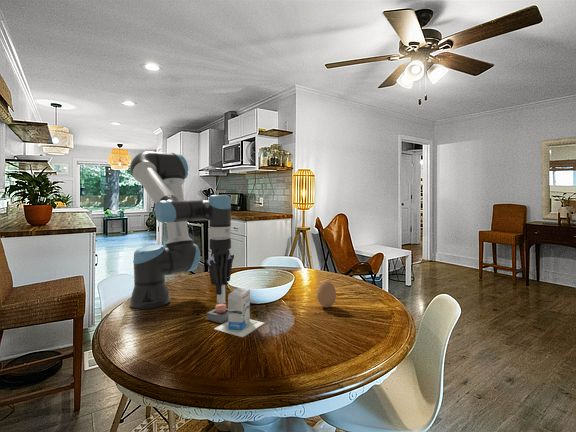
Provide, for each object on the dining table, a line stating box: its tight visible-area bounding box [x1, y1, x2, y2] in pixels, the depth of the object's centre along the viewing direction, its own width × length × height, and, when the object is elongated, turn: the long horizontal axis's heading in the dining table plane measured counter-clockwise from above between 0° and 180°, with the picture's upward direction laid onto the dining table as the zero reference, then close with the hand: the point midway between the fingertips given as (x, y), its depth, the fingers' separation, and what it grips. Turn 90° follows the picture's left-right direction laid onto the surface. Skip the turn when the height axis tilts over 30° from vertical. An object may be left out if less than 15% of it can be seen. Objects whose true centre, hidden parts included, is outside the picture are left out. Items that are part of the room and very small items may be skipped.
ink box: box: [227, 287, 251, 330], centre depth 113 cm, size 9×5×12 cm, turn 166°
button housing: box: [206, 307, 228, 324], centre depth 120 cm, size 7×7×2 cm
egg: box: [316, 280, 337, 309], centre depth 132 cm, size 8×8×11 cm
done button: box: [215, 303, 227, 314], centre depth 120 cm, size 4×4×2 cm
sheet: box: [213, 318, 266, 338], centre depth 113 cm, size 12×13×1 cm
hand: (221, 302), depth 120 cm, fingers closed
